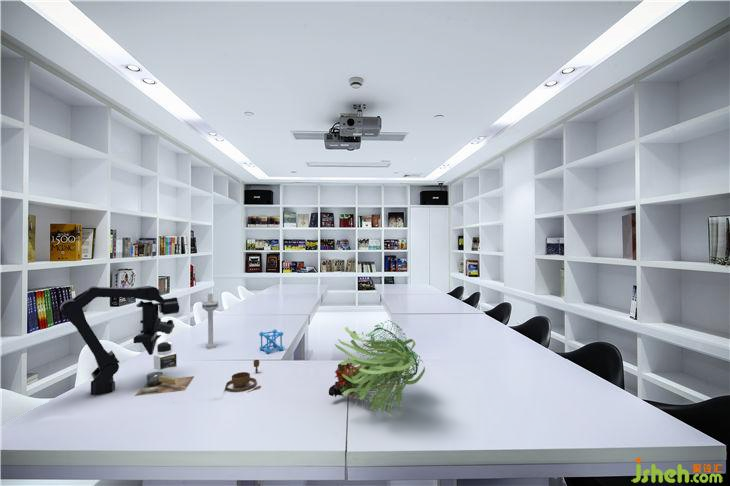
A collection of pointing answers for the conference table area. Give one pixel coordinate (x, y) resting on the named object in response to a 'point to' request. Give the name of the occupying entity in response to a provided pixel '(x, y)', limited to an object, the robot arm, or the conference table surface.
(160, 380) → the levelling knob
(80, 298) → the robot arm
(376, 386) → the plant
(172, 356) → the medicine bottle
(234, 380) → the place setting
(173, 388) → the base plate
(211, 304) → the model tower
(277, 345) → the molecular structure
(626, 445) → the conference table surface
